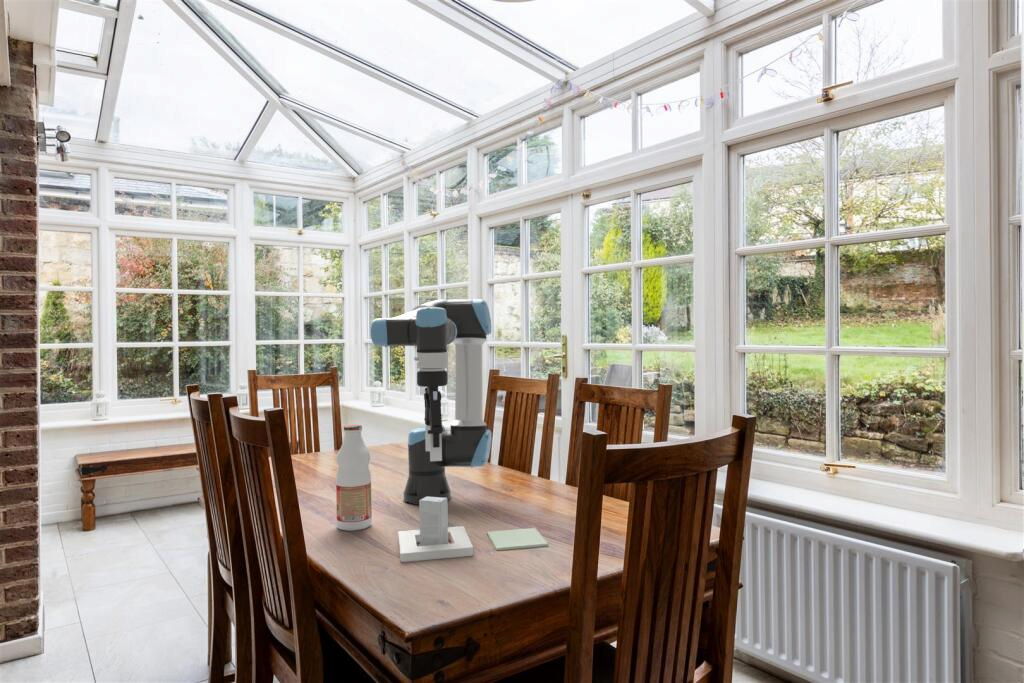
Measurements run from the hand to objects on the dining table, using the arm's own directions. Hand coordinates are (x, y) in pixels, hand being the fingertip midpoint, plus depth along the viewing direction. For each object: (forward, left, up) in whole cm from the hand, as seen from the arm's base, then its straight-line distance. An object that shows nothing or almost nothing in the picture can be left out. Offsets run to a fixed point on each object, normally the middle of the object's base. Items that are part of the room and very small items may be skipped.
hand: (433, 455), depth 152 cm
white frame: (0, 0, -23) cm, 23 cm away
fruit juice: (-23, -20, -23) cm, 38 cm away
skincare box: (0, 0, -23) cm, 23 cm away
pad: (0, +21, -23) cm, 31 cm away
